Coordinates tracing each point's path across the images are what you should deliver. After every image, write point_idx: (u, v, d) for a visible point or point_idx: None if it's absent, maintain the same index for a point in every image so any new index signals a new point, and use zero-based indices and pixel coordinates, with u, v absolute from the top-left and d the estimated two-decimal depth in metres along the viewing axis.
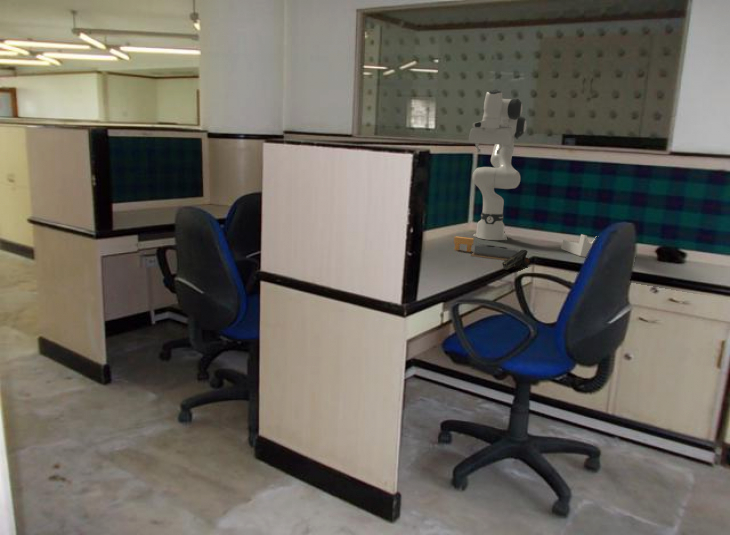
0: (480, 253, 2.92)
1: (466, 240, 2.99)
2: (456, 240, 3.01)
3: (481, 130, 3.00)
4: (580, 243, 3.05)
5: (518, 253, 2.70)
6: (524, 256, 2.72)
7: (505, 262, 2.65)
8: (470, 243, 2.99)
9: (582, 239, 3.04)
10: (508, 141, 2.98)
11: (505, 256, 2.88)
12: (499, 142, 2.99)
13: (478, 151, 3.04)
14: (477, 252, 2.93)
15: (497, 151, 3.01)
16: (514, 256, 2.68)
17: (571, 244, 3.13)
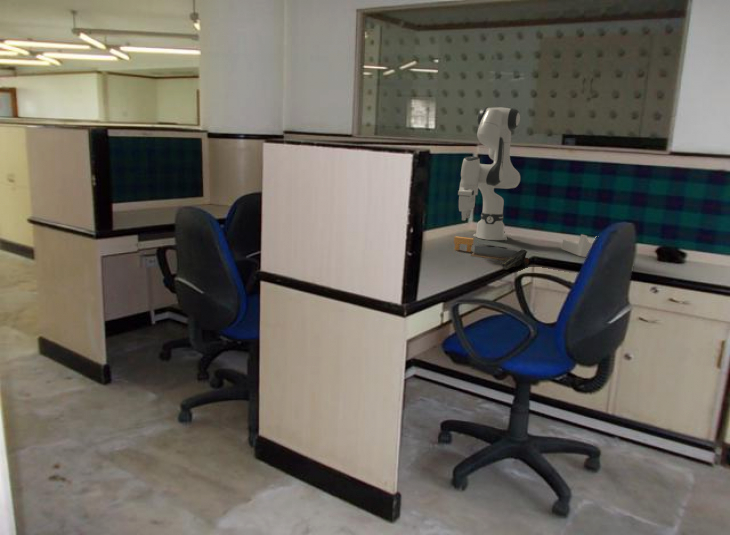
0: (480, 253, 2.92)
1: (466, 240, 2.99)
2: (456, 240, 3.01)
3: (471, 198, 2.92)
4: (580, 243, 3.05)
5: (518, 253, 2.69)
6: (524, 256, 2.72)
7: (505, 262, 2.65)
8: (470, 243, 2.99)
9: (582, 239, 3.04)
10: (474, 204, 3.05)
11: (505, 256, 2.88)
12: (472, 207, 3.02)
13: (465, 219, 2.94)
14: (477, 252, 2.93)
15: (469, 215, 3.02)
16: (514, 256, 2.68)
17: (571, 244, 3.13)
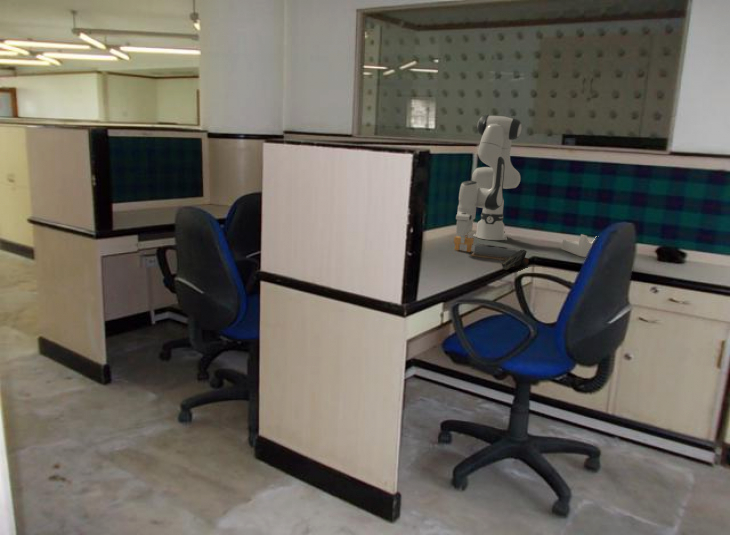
0: (480, 253, 2.92)
1: (466, 240, 2.99)
2: (456, 240, 3.01)
3: (468, 222, 2.95)
4: (580, 243, 3.05)
5: (517, 253, 2.69)
6: (523, 256, 2.71)
7: (504, 262, 2.65)
8: (470, 243, 2.99)
9: (582, 239, 3.04)
10: (472, 227, 3.08)
11: (505, 256, 2.88)
12: (470, 230, 3.04)
13: (464, 242, 2.99)
14: (477, 252, 2.93)
15: None
16: (513, 256, 2.68)
17: (571, 244, 3.13)
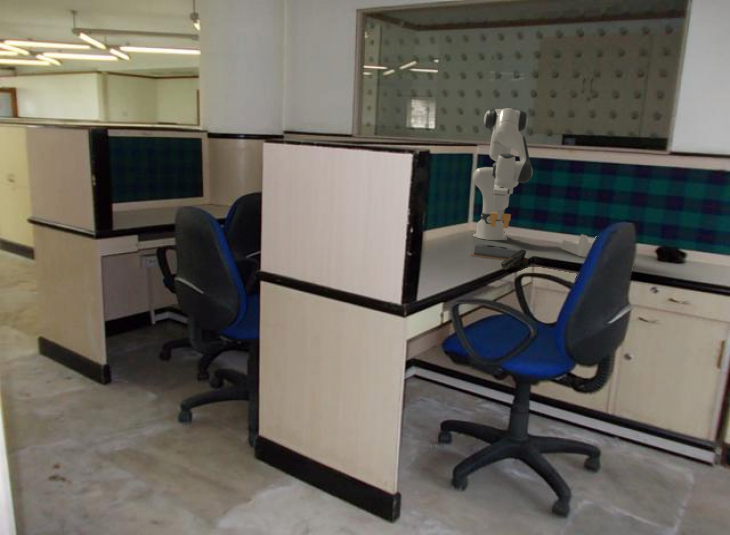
0: (480, 253, 2.92)
1: (503, 216, 2.86)
2: (492, 216, 2.88)
3: (506, 196, 2.82)
4: (580, 243, 3.05)
5: (517, 253, 2.69)
6: (523, 256, 2.71)
7: (504, 262, 2.64)
8: (507, 219, 2.86)
9: (582, 239, 3.04)
10: (508, 203, 2.95)
11: (505, 256, 2.88)
12: (507, 206, 2.92)
13: (501, 218, 2.86)
14: (477, 252, 2.93)
15: None
16: (513, 256, 2.68)
17: (571, 244, 3.13)
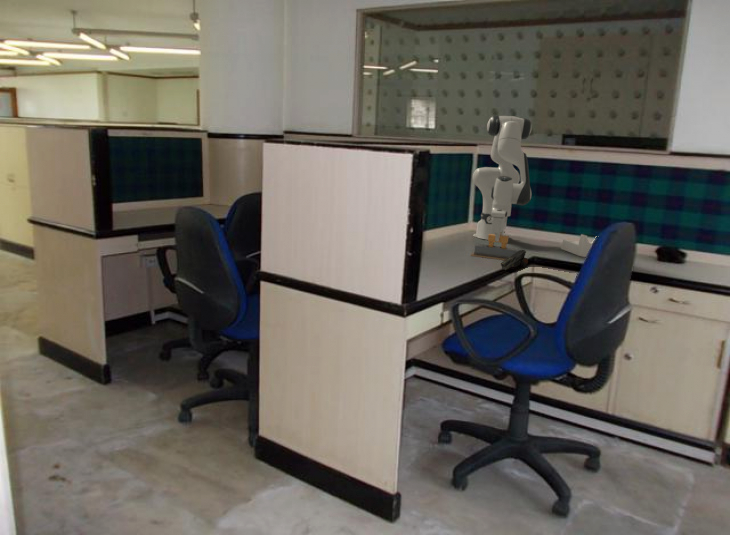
0: (480, 253, 2.92)
1: (501, 238, 2.89)
2: (490, 238, 2.91)
3: None
4: (580, 243, 3.05)
5: (517, 253, 2.69)
6: (523, 256, 2.71)
7: (504, 262, 2.64)
8: (505, 241, 2.88)
9: (582, 239, 3.04)
10: None
11: (505, 256, 2.88)
12: (504, 227, 2.94)
13: None
14: (477, 252, 2.93)
15: None
16: (513, 256, 2.67)
17: (571, 244, 3.13)
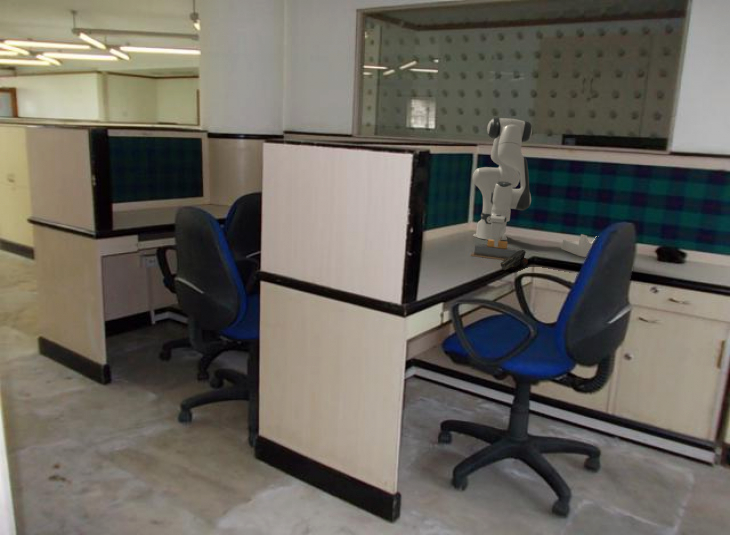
0: (480, 253, 2.92)
1: (500, 243, 2.90)
2: (490, 243, 2.91)
3: (503, 224, 2.85)
4: (580, 243, 3.05)
5: (516, 253, 2.69)
6: (522, 256, 2.71)
7: (503, 262, 2.64)
8: (504, 246, 2.89)
9: (582, 239, 3.04)
10: (505, 230, 2.98)
11: (505, 256, 2.88)
12: (504, 232, 2.95)
13: (497, 245, 2.88)
14: (477, 252, 2.93)
15: None
16: (512, 256, 2.67)
17: (571, 244, 3.13)
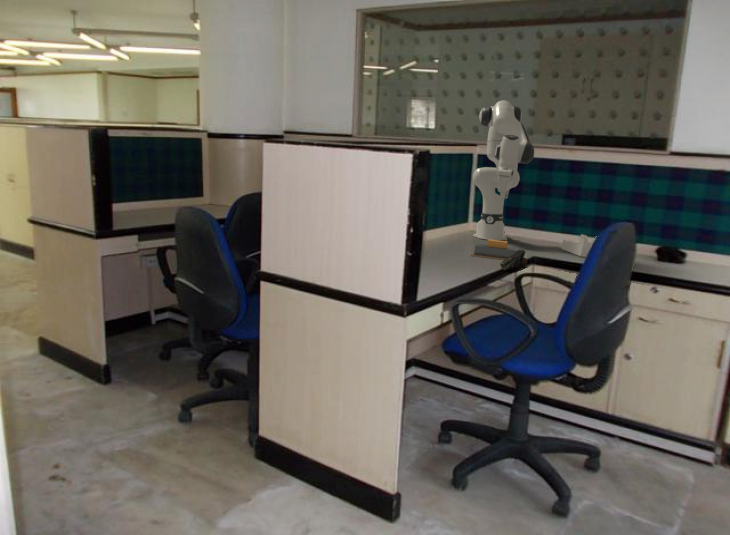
0: (480, 253, 2.92)
1: (500, 243, 2.90)
2: (490, 243, 2.91)
3: None
4: (580, 243, 3.05)
5: (516, 253, 2.69)
6: (522, 256, 2.71)
7: (503, 262, 2.64)
8: (504, 246, 2.89)
9: (582, 239, 3.04)
10: None
11: (505, 256, 2.88)
12: (510, 187, 2.95)
13: (503, 199, 2.88)
14: (477, 252, 2.93)
15: (507, 196, 2.96)
16: (512, 256, 2.67)
17: (571, 244, 3.13)
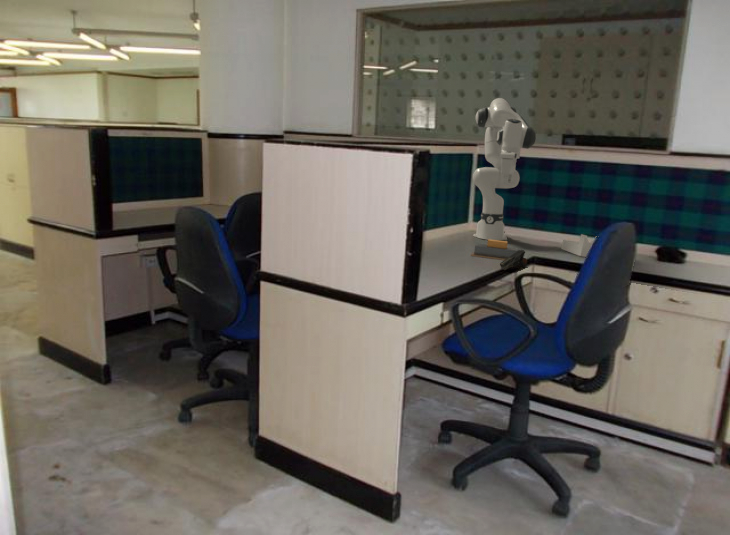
0: (480, 253, 2.92)
1: (500, 243, 2.90)
2: (490, 243, 2.91)
3: (513, 161, 2.87)
4: (580, 243, 3.05)
5: (516, 253, 2.69)
6: (522, 256, 2.71)
7: (503, 262, 2.64)
8: (504, 246, 2.89)
9: (582, 239, 3.04)
10: None
11: (505, 256, 2.88)
12: (513, 171, 2.97)
13: (507, 183, 2.90)
14: (477, 252, 2.93)
15: (510, 180, 2.98)
16: (512, 256, 2.67)
17: (571, 244, 3.13)
